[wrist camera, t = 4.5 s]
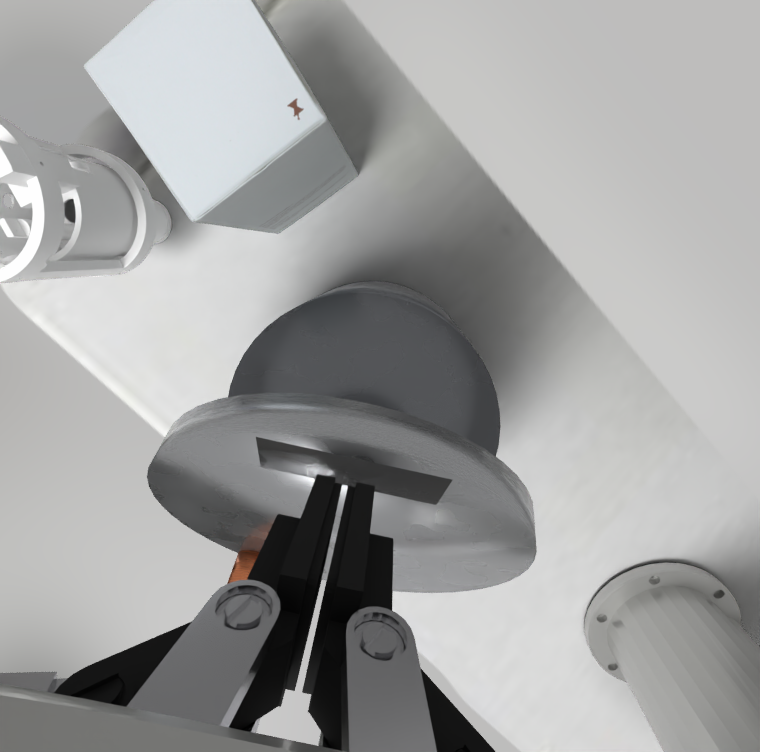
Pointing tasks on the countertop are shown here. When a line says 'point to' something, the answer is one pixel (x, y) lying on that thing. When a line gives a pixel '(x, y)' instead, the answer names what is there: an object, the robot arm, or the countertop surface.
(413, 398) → the grey rounded cylinder
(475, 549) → the lid
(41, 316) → the countertop surface
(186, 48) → the supplement box
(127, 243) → the white caged cylinder
